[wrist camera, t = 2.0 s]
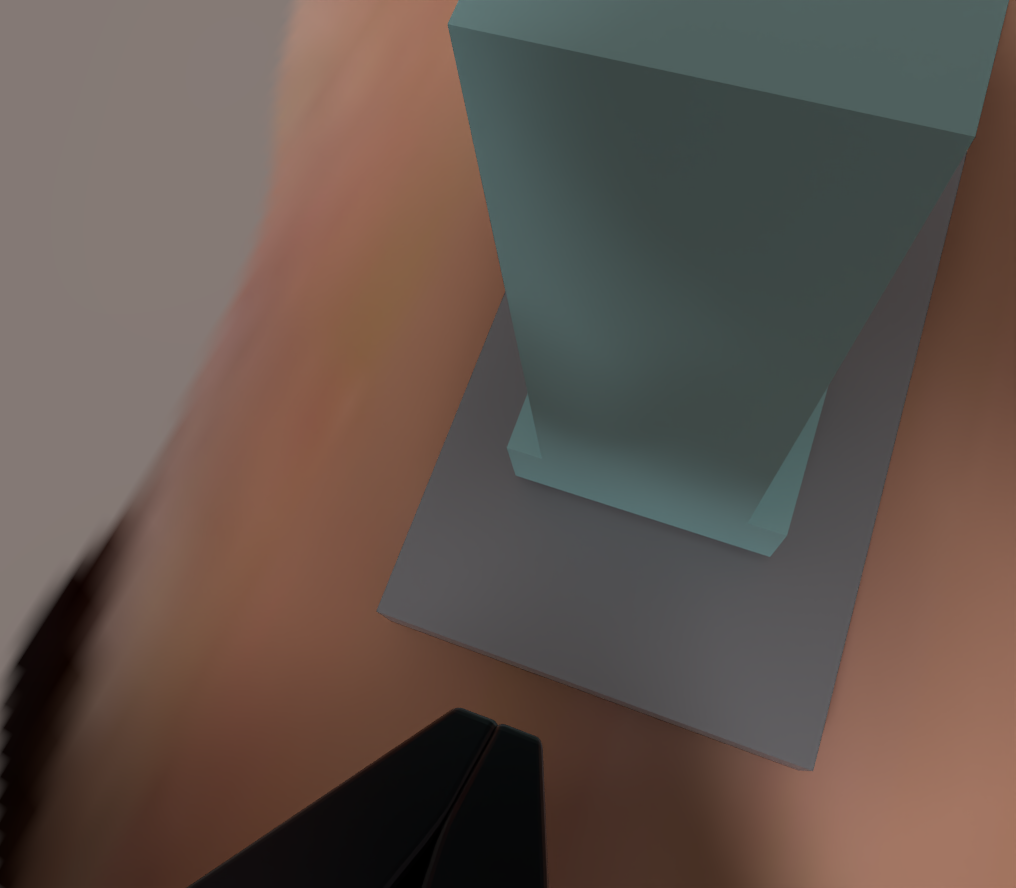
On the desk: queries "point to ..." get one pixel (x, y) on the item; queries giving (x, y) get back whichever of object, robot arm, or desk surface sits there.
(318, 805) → the robot arm
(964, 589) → the desk surface
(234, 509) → the desk surface
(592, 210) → the teal upright block
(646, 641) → the track
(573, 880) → the desk surface
